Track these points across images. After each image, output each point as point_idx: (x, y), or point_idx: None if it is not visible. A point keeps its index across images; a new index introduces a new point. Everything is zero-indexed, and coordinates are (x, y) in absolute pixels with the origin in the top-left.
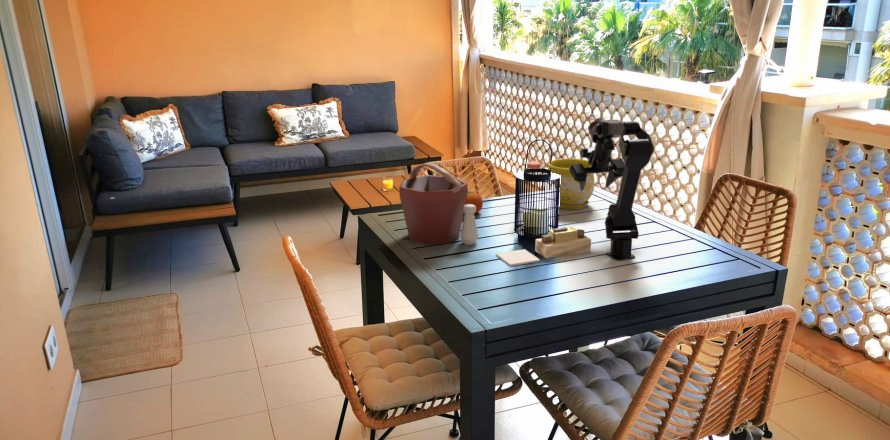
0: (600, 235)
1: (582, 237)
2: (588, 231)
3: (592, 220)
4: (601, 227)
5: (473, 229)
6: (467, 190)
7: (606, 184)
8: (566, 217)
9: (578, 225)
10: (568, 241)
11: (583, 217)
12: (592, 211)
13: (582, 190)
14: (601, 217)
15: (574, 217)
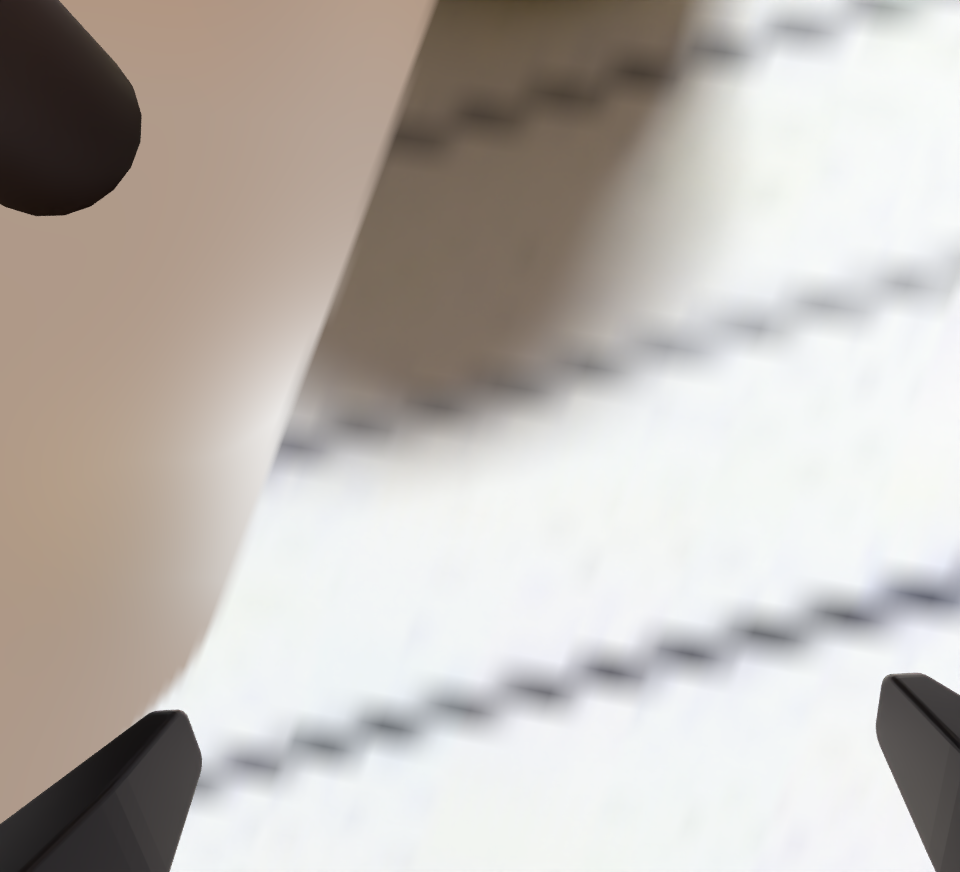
0: (508, 852)
1: None
2: (432, 703)
3: (588, 366)
4: (603, 604)
5: None
6: None
7: (924, 766)
8: (364, 229)
9: (397, 498)
10: None
11: (531, 256)
12: (685, 79)
13: (191, 787)
14: (711, 286)
15: (442, 242)
